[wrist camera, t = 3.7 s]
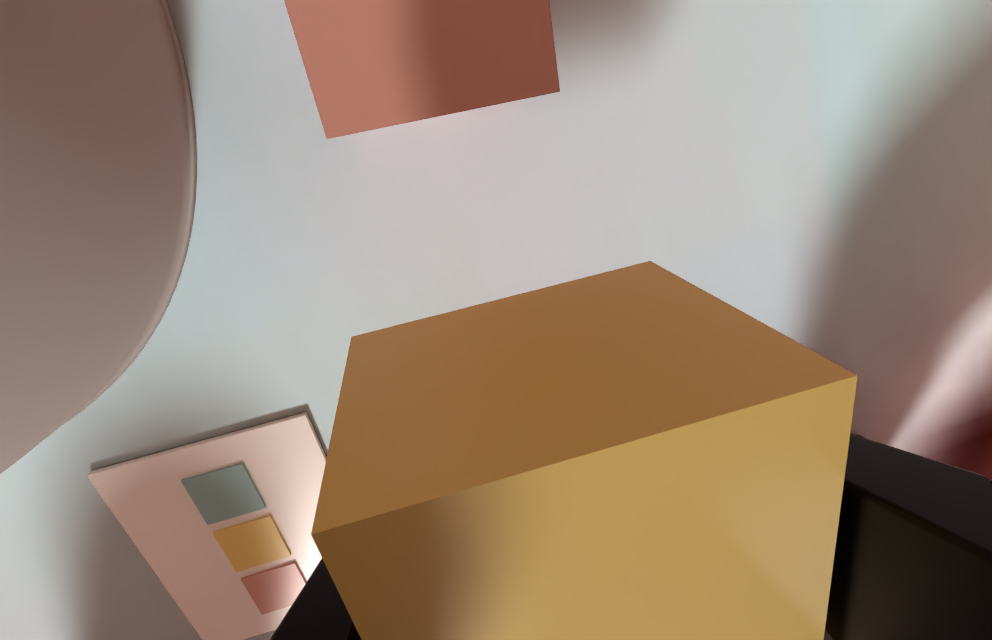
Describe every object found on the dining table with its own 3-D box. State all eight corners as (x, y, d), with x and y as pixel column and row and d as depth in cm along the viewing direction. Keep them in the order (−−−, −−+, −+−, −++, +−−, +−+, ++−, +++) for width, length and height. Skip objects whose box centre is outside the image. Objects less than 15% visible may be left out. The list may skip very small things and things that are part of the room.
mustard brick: (650, 260, 8) (858, 375, 4) (664, 488, 10) (816, 694, 6) (351, 336, 8) (311, 534, 4) (430, 559, 10) (450, 825, 6)
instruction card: (306, 412, 16) (304, 416, 16) (385, 591, 20) (384, 597, 20) (89, 471, 16) (84, 477, 15) (211, 645, 19) (208, 653, 19)
